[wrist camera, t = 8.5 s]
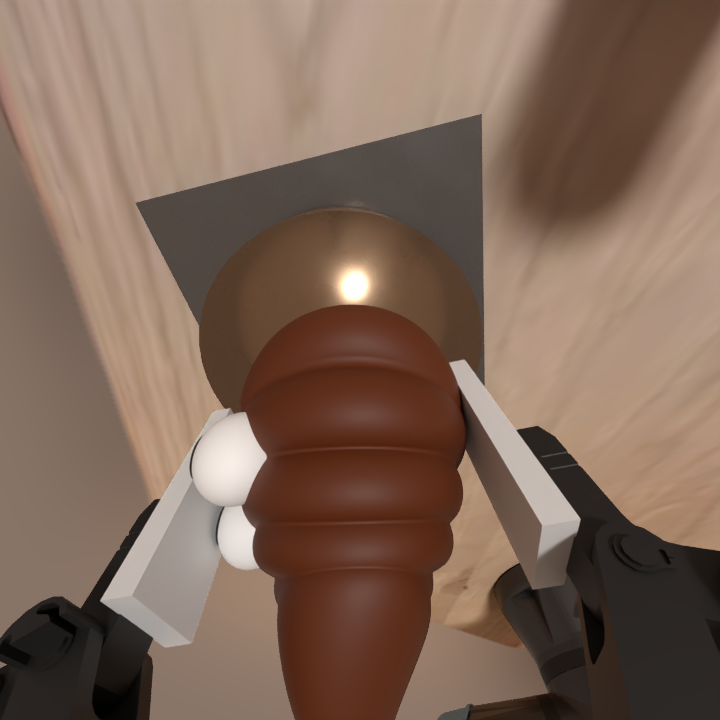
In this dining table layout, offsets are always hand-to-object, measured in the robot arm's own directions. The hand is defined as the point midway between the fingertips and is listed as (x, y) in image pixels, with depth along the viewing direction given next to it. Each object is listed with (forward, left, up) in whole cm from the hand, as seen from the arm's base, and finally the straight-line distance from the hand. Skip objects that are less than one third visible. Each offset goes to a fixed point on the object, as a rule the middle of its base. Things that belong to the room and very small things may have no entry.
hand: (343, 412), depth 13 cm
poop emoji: (0, 0, -1) cm, 1 cm away
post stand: (0, 0, -11) cm, 11 cm away
